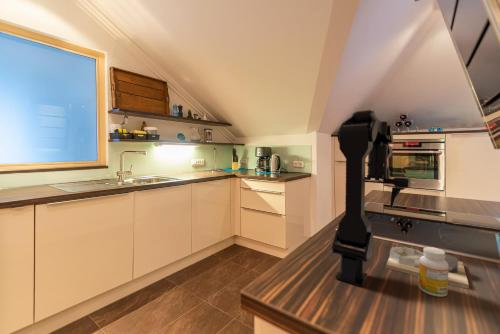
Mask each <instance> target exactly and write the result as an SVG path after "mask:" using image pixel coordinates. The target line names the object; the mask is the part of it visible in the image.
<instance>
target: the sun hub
mask: <svg viewBox="0 0 500 334" xmlns="http://www.w3.org/2000/svg"><path fill="white" fill-rule="evenodd" d="M444 260H445V261H446V262H447V263H448V266H449V270H448V272H449V273H456V272H458V261H459V258H457V257H456V256H453V255H451V254H447V253H445V259H444Z"/></svg>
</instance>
